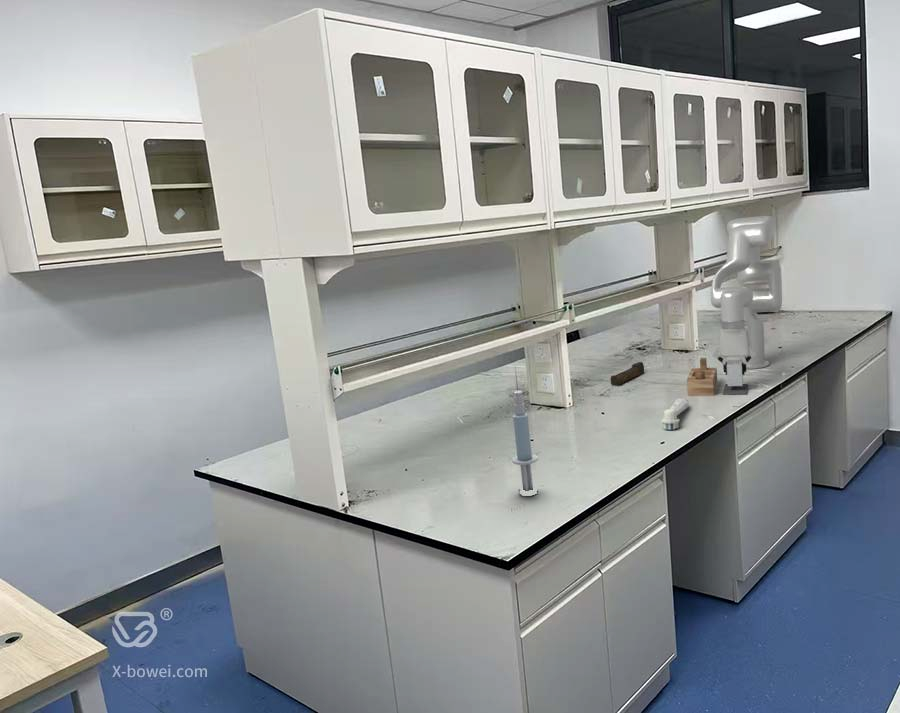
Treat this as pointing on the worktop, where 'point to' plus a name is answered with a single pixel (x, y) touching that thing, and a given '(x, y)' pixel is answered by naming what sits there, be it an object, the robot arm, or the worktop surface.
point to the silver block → (734, 373)
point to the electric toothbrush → (674, 414)
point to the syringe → (523, 441)
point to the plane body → (702, 380)
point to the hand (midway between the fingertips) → (735, 373)
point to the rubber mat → (735, 390)
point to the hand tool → (628, 374)
